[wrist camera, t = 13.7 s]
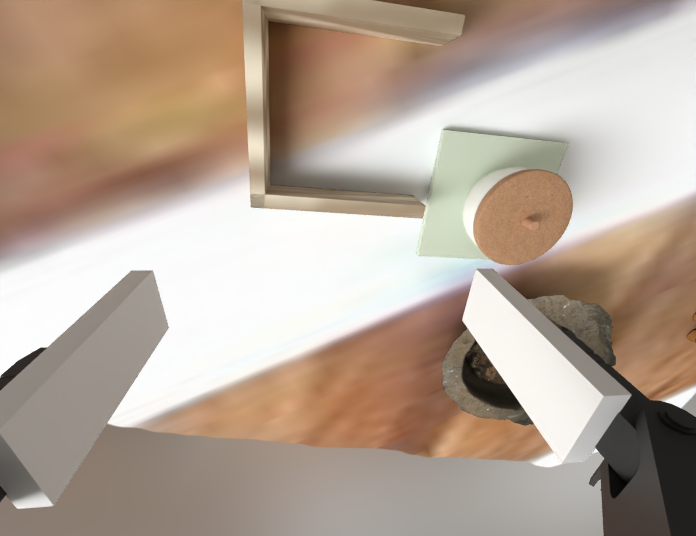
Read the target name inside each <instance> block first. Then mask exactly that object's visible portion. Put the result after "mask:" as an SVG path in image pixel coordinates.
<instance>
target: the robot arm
mask: <svg viewBox="0 0 696 536" xmlns="http://www.w3.org/2000/svg"><path fill="white" fill-rule="evenodd" d="M462 321H463V322H464V324H465V325H466V327H467V328H468V329H469V331H470V332H471V334H472V335H473V337H474V338H475V339H476V341H477V342H478V344H479V345H480V347H481V348H482V350H483V351H484V352H485V354H486V355H487V357H488V358H489V360H490V361H491V362H492V364H493V365H494V367H495V368H496V370H497V371H498V373H499V374H500V375H501V377H502V378H503V380H504V381H505V383H506V384H507V385H508V387H509V388H510V390H511V391H512V393H513V394H514V395H515V397H516V398H517V400H518V401H519V403H520V404H521V406H522V407H523V408H524V410H525V411H526V413H527V414H528V416H529V417H530V418H531V420H532V421H533V423H534V424H535V426H536V427H537V428H538V430H539V431H540V433H541V434H542V436H543V437H544V439H545V440H546V441H547V443H548V444H549V446H550V447H551V449H552V450H553V451H554V453H555V454H556V456H557V457H558V459H559V460H560V462H561V463H562V464H563V463H575V462H586V461H587V460H588V458H589V457H590V455H591V454H592V453H593V451H594V450H595V448H596V449H597V450H598V451H599V452H600V454H601V455H602V456H603V457H604V458H605V459H604V460H603V462H602V463H601V465H600V466H599V467H598V469H597V470H596V471H595V473H594V474H593V476H592V477H591V479H590V482H589V484H590V485H592V486H594V485H595V484H596V483H597V481H598V480H600V479H601V491H602V509H603V510H602V511H603V530H604V536H696V417H695V416H693V415H691V414H690V413H688V412H687V411H685V410H683V409H681V408H679V407H677V406H675V405H673V404H669V403H666V402H662V401H653V400H649V399H648V398H647V397H646V396H644V395H643V394H642V393H641V392H640V391H639V390H638V389H636V388H635V387H634V386H633V385H632V384H631V383H630V382H628V381H627V380H626V379H625V378H624V377H623V376H622V375H620V374H619V373H618V372H617V371H616V370H615V369H614V368H612V367H611V366H610V365H609V364H606V363H605V361H604V360H603V359H602V358H601V357H600V356H599V355H597V354H595V353H594V351H593V350H592V349H591V348H589V347H588V346H587V345H586V344H585V343H584V342H583V341H581V340H580V339H578V338H576V337H575V336H573V335H571V334H570V333H568V332H566V331H561V330H560V329H559V328H558V327H557V326H555V325H554V324H553V323H552V322H551V321H550V320H549V319H548V318H547V317H545V316H544V315H543V314H542V313H541V312H540V311H539V310H538V309H537V308H536V307H534V306H533V305H532V304H531V303H530V302H529V301H528V300H527V299H526V298H525V297H523V296H522V295H521V294H520V293H519V292H518V291H517V290H516V289H515V288H513V287H512V286H511V285H510V284H509V283H508V282H507V281H506V280H505V279H504V278H502V277H501V276H500V275H499V274H498V273H497V272H496V271H495V270H494V269H476V271H475V275H474V278H473V282H472V286H471V289H470V293H469V297H468V301H467V304H466V308H465V312H464V315H463V319H462ZM168 328H169V327H168V323H167V320H166V316H165V312H164V309H163V305H162V302H161V298H160V294H159V291H158V287H157V284H156V280H155V276H154V273H153V271H131V272H130V273H128V274H127V275H126V276H125V277H124V278H123V279H122V280H121V281H120V282H119V283H118V284H116V285H115V286H114V287H113V288H112V289H111V290H110V291H109V292H108V293H107V294H105V295H104V296H103V297H102V298H101V299H100V300H99V301H98V302H97V303H96V304H95V305H93V306H92V307H91V308H90V309H89V310H88V311H87V312H86V313H85V314H84V315H83V316H81V317H80V318H79V319H78V320H77V321H76V322H75V323H74V324H73V325H72V326H71V327H69V328H68V329H67V330H66V331H65V332H64V333H63V334H62V335H61V336H60V337H58V338H57V339H56V340H55V341H54V342H53V343H52V344H51V345H50V346H49V347H48V348H39V349H38V350H36V351H34V352H32V353H31V354H29V355H27V356H25V357H24V358H22V359H20V360H19V361H17V362H16V363H15V364H14V365H13V366H11V367H10V368H9V369H8V370H7V371H6V372H5V373H3V374H2V375H1V376H0V377H1V378H0V502H1V500H2V499H3V498H4V496H5V495H6V496H7V497H8V498H9V499H10V501H11V502H12V503H13V504H14V505H15V506H16V508H17V509H21V508H33V507H45V506H54V504H55V503H56V501H57V500H58V498H59V497H60V495H61V494H62V492H63V490H64V489H65V487H66V486H67V484H68V483H69V481H70V480H71V478H72V477H73V475H74V473H75V472H76V470H77V469H78V467H79V466H80V464H81V463H82V461H83V460H84V458H85V456H86V455H87V453H88V452H89V450H90V449H91V447H92V445H93V444H94V443H95V441H96V439H97V438H98V436H99V435H100V433H101V432H102V430H103V429H104V427H105V425H106V424H107V422H108V421H109V419H110V418H111V416H112V415H113V413H114V412H115V410H116V408H117V407H118V405H119V404H120V402H121V401H122V399H123V398H124V396H125V395H126V393H127V391H128V390H129V388H130V387H131V385H132V384H133V382H134V381H135V379H136V378H137V376H138V374H139V373H140V371H141V370H142V368H143V367H144V365H145V364H146V362H147V360H148V359H149V357H150V356H151V354H152V353H153V351H154V350H155V348H156V347H157V345H158V343H159V342H160V340H161V339H162V337H163V336H164V334H165V333H166V331H167V330H168Z"/></svg>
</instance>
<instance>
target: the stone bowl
mask: <svg viewBox="0 0 696 536" xmlns="http://www.w3.org/2000/svg"><path fill="white" fill-rule="evenodd" d="M527 300H528V301H529V302H530V303H531V304H532V305H533V306H534V307H536V308H537V309H538V310H539V311H540V312H541V313H542V314H543V315H544V316H545V317H547V318H548V319H549V320H550V321H551V322H552V323H553V324H554V325H555V326H557V327H558V328H559V329H560V330H561V331H566V332H568V333H570V334H571V335H573V336H575V337H576V338H578V339H580V340H581V341H583V342H584V343H585V344H586V345H587V346H588V347H589V348H591V349H592V350H593V351H594V353H595V354H597V355H599V356H600V357H601V358H602V359H603V360H604V361H605V363H606V364H609V365H610V366H611V367H612V366H614V365H615V364H616V357H615V355H614V354H613V350H612V346H611V345H612V342H611V340H610V339H611V330H612V328H613V326H612V325H611V321H612V320H611V319H610V315H609V314H608V313H607V312H606V311H605V310H604V309H603V308H602V307H601V306H599V305H598V304H588V303H584V302H582V301H581V300H571V299H569V298H566V297H565V295H554V296H542V297H538V298H536V299H527ZM609 338H610V339H609ZM442 373H443V376H444V377H443V379H442V381H443V385H444V388H443V390H444V391H445V392H446V394H447V395H448V396H449V397H450V398H451V399H452V400H453V401H455V402H457V404H458V405H459V406H460V408H461V410H463V411H465V412H467V413H469V414H472V415H474V416H477V417H480V418H487V419H489V418H493V419H498V420H506V419H510V420H511V421H512V422H514V423H518V424H521V425H529V424H534V423H533V421H532V420H531V418H530V417H529V416H528V414H527V413H526V411H525V410H524V408H523V407H522V406H521V404H520V403H519V401H518V400H517V398H516V397H515V395H514V394H513V393H512V391H511V390H510V388H509V387H508V385H507V384H506V383H505V381H504V380H503V378H502V377H501V375H500V374H499V373H498V371H497V370H496V368H495V367H494V365H493V364H492V362H491V361H490V360H489V358H488V357H487V355H486V354H485V352H484V351H483V350H482V348H481V347H480V345H479V344H478V342H477V341H476V339H475V338H474V337H473V335H472V334H471V332H470V331H469V329H467V330H466V331H464V332H463V334H462V335H461V336H460V337H459V338H458V339H457V340H456V341H455V342H454V343H453V345H452V347H451V348H450V349H449V351H448V353H447V355H446V357H445V358H444V360H443V364H442Z"/></svg>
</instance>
